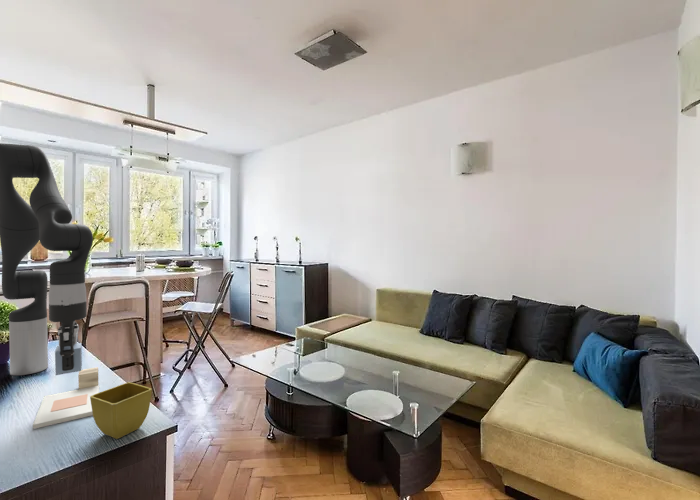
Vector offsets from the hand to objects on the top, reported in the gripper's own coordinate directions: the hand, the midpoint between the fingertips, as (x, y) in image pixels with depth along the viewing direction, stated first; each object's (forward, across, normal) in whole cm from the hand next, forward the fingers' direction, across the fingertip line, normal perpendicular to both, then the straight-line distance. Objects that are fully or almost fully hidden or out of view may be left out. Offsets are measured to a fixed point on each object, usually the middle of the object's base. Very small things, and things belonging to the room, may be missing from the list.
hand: (69, 366), depth 89 cm
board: (+11, 0, 0) cm, 11 cm away
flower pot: (+11, +22, +11) cm, 27 cm away
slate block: (+1, 0, 0) cm, 1 cm away
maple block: (+11, -12, +4) cm, 16 cm away
